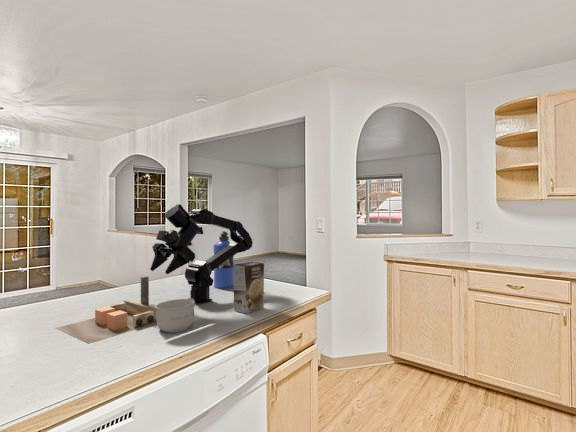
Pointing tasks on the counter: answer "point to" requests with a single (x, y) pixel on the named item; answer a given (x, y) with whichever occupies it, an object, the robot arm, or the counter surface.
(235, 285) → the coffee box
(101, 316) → the block
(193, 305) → the teacup
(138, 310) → the wooden pusher with handle
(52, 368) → the counter surface
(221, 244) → the water bottle
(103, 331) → the board
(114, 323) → the block
